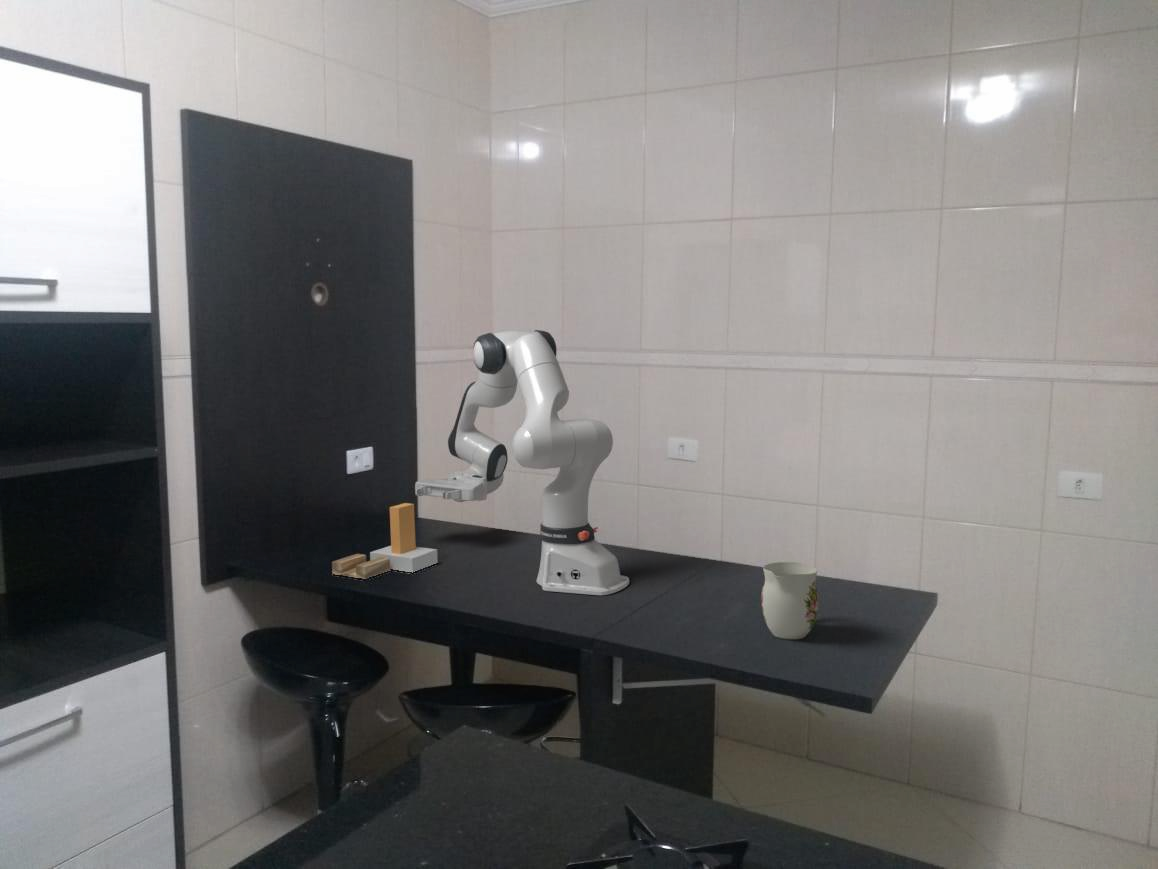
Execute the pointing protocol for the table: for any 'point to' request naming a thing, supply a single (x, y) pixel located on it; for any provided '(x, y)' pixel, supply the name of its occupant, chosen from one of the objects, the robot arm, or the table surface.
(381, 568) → the rack
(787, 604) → the pitcher
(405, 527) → the orange rectangular block
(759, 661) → the table surface
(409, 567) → the block
